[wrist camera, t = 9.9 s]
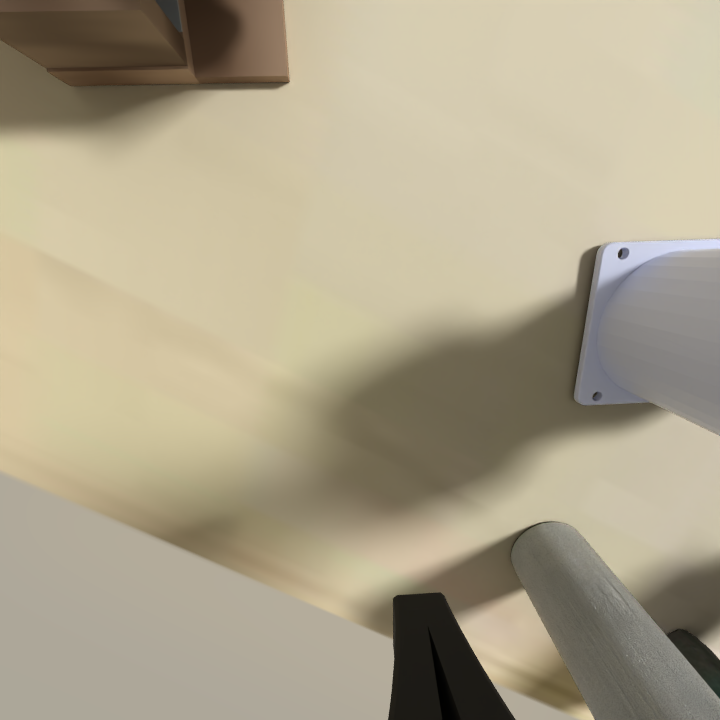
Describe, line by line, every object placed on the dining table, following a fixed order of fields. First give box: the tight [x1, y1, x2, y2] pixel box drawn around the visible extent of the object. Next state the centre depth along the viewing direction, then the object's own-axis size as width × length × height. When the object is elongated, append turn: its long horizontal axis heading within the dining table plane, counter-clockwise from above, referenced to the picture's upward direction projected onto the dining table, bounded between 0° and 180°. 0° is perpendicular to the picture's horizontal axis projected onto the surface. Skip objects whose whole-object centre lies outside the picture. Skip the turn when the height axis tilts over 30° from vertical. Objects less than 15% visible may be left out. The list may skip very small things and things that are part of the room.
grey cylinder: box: [511, 522, 720, 720], centre depth 16 cm, size 4×4×10 cm
